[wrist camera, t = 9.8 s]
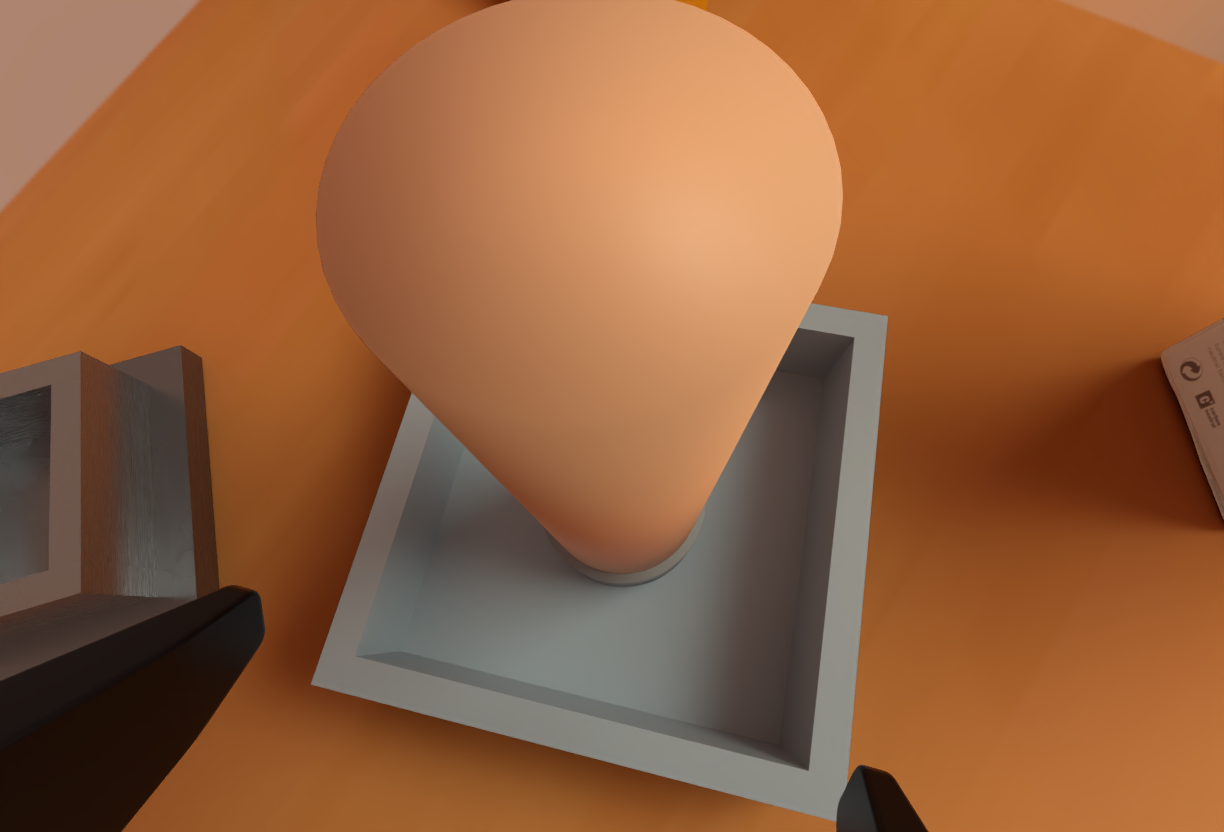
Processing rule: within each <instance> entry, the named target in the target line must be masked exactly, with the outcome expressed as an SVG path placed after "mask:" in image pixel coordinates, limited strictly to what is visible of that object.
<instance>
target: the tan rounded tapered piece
mask: <svg viewBox="0 0 1224 832" xmlns="http://www.w3.org/2000/svg"><path fill="white" fill-rule="evenodd" d="M842 201H843V191H842V178H841V167H840V163H839V158H838V154H837V150H836V146H835V142H834V139H833V136H832V134H831V131H830V129H829V127H828V124H827V122H826V119H825V117H824V115H823V113H822V111H821V109H820V108H819V106H818V104H817V103H816V101H815V99H814V98H813V96H812V94H811V93H810V91H809V90H808V88H807V87H806V86H805V85H804V83H803V82H802V81H801V80H800V79H799V77H798V76H797V75H796V74H795V72H794V71H793V70H792V69H791V68H790V67H789V66H788V65H787V64H786V63H785V62H784V61H783V60H782V59H781V58H780V57H779V56H778V55H776V54H775V53H774V52H773V51H772V50H771V49H770V48H769V47H767V46H766V45H765V44H763V43H762V42H760V41H759V40H758V39H756V38H755V37H754V36H752V35H751V34H749V33H748V32H747V31H745V30H743V29H741V28H739V27H738V26H736V25H734V24H732V23H730V22H729V21H727V20H725V19H723V18H721V17H719V16H717V15H714V14H712V13H709V12H707V11H705V10H702V9H700V8H697V7H695V6H692V5H689V4H685V3H682V2H679V1H675V0H511V1H508V2H504V3H501V4H497V5H494V6H490V7H488V8H485V9H483V10H480V11H478V12H475V13H473V14H470V15H468V16H465V17H463V18H461V19H459V20H457V21H455V22H453V23H451V24H449V25H447V26H445V27H443V28H441V29H439V30H438V31H436V32H434V33H433V34H431V35H430V36H428V37H426V38H425V39H423V40H422V41H420V42H419V43H417V44H416V45H414V46H413V47H411V48H410V49H409V50H408V51H406V52H405V53H404V54H403V55H401V56H400V57H399V58H398V59H397V60H395V61H394V62H393V63H392V64H390V65H389V66H388V67H387V68H386V69H385V70H384V71H383V72H382V73H381V74H380V75H379V76H378V77H377V78H376V79H375V80H374V81H373V83H372V84H371V85H370V86H369V87H368V88H367V89H366V90H365V92H364V93H363V94H362V96H361V97H360V98H359V100H358V101H357V102H356V104H355V105H354V106H353V107H352V109H351V110H350V112H349V114H348V115H347V117H346V119H345V120H344V122H343V124H342V126H341V127H340V129H339V131H338V133H337V134H336V137H335V139H334V141H333V144H332V146H331V149H330V151H329V154H328V156H327V158H326V161H325V165H324V169H323V173H322V177H321V181H320V185H319V190H318V200H317V210H316V227H317V244H318V249H319V253H320V258H321V262H322V267H323V272H324V274H325V277H326V280H327V282H328V285H329V287H330V290H331V292H332V295H333V297H334V300H335V301H336V303H337V305H338V306H339V308H340V310H341V312H342V313H343V315H344V317H345V318H346V320H347V322H348V323H349V325H350V327H351V328H352V329H353V330H354V331H355V333H356V334H357V335H358V336H359V337H360V338H361V340H362V341H363V342H364V343H365V344H366V346H367V347H368V348H369V349H370V350H371V352H372V353H373V354H374V355H375V356H376V357H377V358H378V359H379V360H380V361H381V362H382V363H383V364H384V365H385V366H386V367H387V368H388V369H389V370H390V371H391V372H392V373H393V374H394V375H395V376H396V377H397V378H398V379H399V380H400V381H401V382H402V383H403V384H404V385H405V386H406V387H407V388H408V389H409V390H410V391H411V392H412V393H413V394H414V395H415V396H416V397H417V398H418V399H419V400H420V401H421V402H422V403H423V405H424V406H425V407H426V408H427V409H428V410H429V411H430V412H431V413H432V414H433V415H434V416H435V417H436V418H437V419H438V420H439V421H440V422H441V423H442V424H443V425H444V426H445V427H446V428H447V429H448V430H449V431H450V432H451V433H452V434H453V435H454V436H455V437H456V438H457V439H458V440H459V441H460V442H461V443H462V444H463V445H464V446H465V447H466V448H467V449H468V450H469V451H470V452H471V453H472V454H473V455H474V456H475V457H476V458H477V460H478V461H479V462H480V463H481V464H482V465H483V466H484V467H485V468H486V469H487V470H488V471H489V472H490V473H491V474H492V475H493V476H494V477H495V478H496V479H497V480H498V481H499V482H500V483H501V484H502V485H503V486H504V487H505V488H506V489H507V490H508V491H509V492H510V493H511V494H512V495H513V496H514V497H515V498H516V499H517V500H518V501H519V502H520V503H521V504H522V505H523V506H524V507H525V508H526V509H527V510H528V511H529V512H530V513H531V515H532V516H533V517H534V518H535V519H536V520H537V521H538V522H539V523H540V524H541V525H542V526H543V528H544V530H545V532H546V534H547V537H548V539H549V540H550V542H551V544H552V545H553V547H554V548H555V549H556V551H557V552H558V553H559V554H560V555H561V556H562V557H563V558H564V559H565V560H566V561H567V562H568V563H569V564H570V565H572V566H573V567H574V568H575V569H576V570H577V571H579V572H580V573H582V574H583V575H584V576H586V577H588V578H590V579H592V580H594V581H596V582H599V583H602V584H605V585H610V586H617V587H631V586H638V585H643V584H647V583H649V582H652V581H655V580H657V579H659V578H660V577H662V576H664V575H666V574H667V573H668V572H670V571H671V570H672V569H673V568H675V567H676V566H677V565H678V564H679V563H680V562H681V560H682V559H683V558H684V557H685V555H686V554H687V552H688V551H689V549H690V548H691V546H692V544H693V543H694V541H695V539H696V538H697V536H698V534H699V531H700V529H701V527H702V523H703V520H704V516H705V509H706V502H707V500H708V498H709V496H710V494H711V492H712V490H713V488H714V486H715V485H716V483H717V481H718V479H719V477H720V475H721V473H722V471H723V469H724V467H725V466H726V464H727V462H728V460H729V458H730V456H731V454H732V452H733V450H734V448H735V447H736V445H737V443H738V441H739V439H740V437H741V435H742V433H743V431H744V429H745V428H746V426H747V424H748V422H749V420H750V418H751V416H752V414H753V412H754V410H755V409H756V407H757V405H758V403H759V401H760V399H761V397H762V395H763V393H764V391H765V390H766V388H767V386H768V384H769V382H770V380H771V378H772V376H773V374H774V372H775V371H776V369H777V367H778V365H779V363H780V361H781V359H782V357H783V355H784V353H785V351H786V350H787V348H788V346H789V344H790V342H791V340H792V338H793V336H794V334H795V332H796V331H797V329H798V327H799V325H800V323H801V321H802V319H803V317H804V315H805V313H806V312H807V310H808V308H809V306H810V304H811V302H812V300H813V298H814V296H815V294H816V293H817V291H818V289H819V287H820V285H821V283H822V280H823V278H824V276H825V273H826V271H827V269H828V266H829V264H830V261H831V259H832V257H833V254H834V250H835V246H836V242H837V238H838V234H839V230H840V225H841V213H842Z"/></svg>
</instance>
